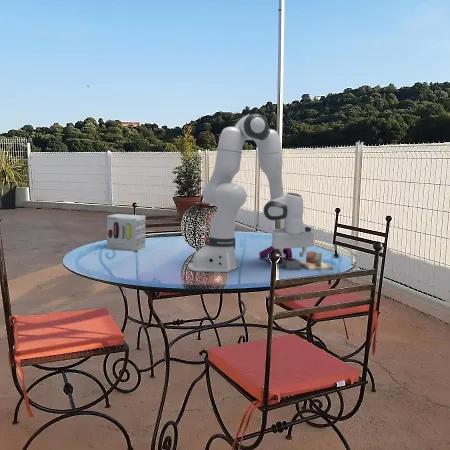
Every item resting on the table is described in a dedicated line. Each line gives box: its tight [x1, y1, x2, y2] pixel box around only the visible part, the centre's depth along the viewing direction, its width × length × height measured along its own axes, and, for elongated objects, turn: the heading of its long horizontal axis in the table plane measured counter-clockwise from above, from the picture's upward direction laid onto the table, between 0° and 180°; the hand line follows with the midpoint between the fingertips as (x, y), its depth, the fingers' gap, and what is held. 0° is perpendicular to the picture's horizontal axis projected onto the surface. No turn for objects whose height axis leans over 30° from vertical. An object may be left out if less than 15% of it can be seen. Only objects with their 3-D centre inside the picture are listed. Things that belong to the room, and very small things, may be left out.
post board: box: [299, 250, 334, 271], centre depth 218 cm, size 12×14×7 cm
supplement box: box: [106, 213, 146, 252], centre depth 249 cm, size 17×13×18 cm
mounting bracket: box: [258, 245, 293, 263], centre depth 229 cm, size 9×8×18 cm
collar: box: [281, 257, 301, 271], centre depth 213 cm, size 6×6×4 cm
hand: (292, 257), depth 213 cm, fingers open, 8 cm apart
